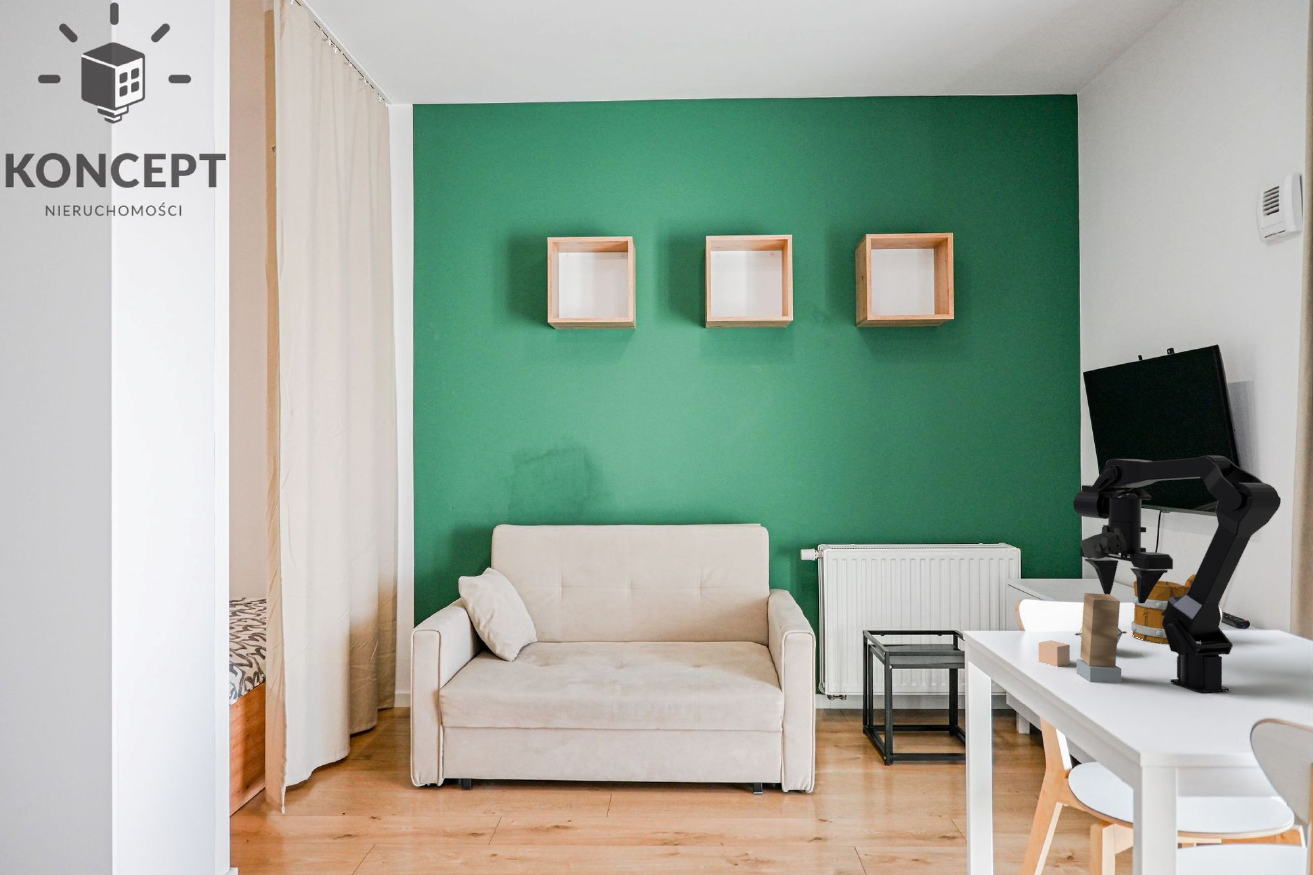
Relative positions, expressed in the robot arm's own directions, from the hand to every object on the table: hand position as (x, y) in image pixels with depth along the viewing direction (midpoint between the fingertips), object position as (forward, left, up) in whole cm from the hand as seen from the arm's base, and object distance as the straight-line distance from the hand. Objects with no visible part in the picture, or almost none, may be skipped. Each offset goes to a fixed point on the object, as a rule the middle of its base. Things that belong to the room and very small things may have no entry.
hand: (1123, 598), depth 158 cm
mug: (+18, -27, -13) cm, 35 cm away
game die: (+9, -2, -13) cm, 16 cm away
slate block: (-9, +13, -13) cm, 20 cm away
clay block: (+2, +14, -13) cm, 19 cm away
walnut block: (-9, +13, -10) cm, 18 cm away
